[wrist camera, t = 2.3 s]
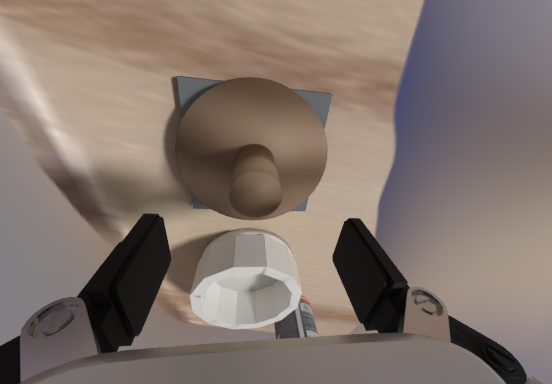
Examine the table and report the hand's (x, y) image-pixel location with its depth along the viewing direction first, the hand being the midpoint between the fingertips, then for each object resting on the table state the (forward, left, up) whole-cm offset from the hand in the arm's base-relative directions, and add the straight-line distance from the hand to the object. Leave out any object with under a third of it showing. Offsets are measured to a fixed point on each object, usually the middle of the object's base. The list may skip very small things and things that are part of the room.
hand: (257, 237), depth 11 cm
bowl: (+13, 0, -9) cm, 16 cm away
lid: (-1, 0, -9) cm, 9 cm away
